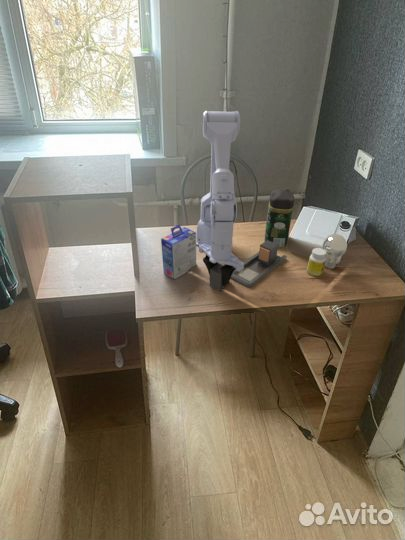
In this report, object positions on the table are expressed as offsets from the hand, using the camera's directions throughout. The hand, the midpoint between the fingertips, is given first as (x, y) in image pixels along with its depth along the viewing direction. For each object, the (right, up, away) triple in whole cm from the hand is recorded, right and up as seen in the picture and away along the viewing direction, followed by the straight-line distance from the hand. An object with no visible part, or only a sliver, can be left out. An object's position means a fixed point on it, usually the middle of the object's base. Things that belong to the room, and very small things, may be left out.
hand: (219, 280), depth 114 cm
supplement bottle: (+29, +2, +7) cm, 30 cm away
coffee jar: (+20, +13, +21) cm, 32 cm away
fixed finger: (+15, +6, +10) cm, 19 cm away
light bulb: (+35, +3, +9) cm, 36 cm away
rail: (+12, +3, +8) cm, 15 cm away
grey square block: (0, -1, +1) cm, 2 cm away
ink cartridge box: (-12, +3, +7) cm, 14 cm away
